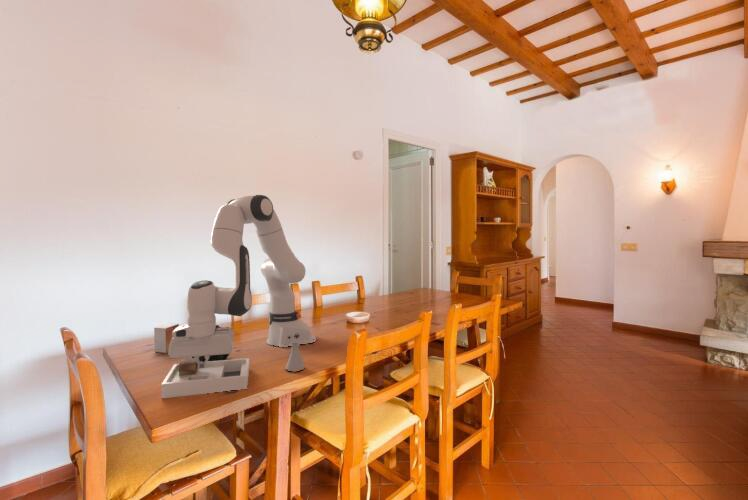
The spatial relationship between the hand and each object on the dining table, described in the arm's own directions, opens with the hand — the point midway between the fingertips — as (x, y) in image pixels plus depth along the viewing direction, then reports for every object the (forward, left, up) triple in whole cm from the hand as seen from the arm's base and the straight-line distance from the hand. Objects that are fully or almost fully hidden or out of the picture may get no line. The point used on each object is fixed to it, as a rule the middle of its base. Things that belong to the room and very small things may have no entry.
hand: (202, 367), depth 126 cm
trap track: (-3, +3, -4) cm, 6 cm away
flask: (-32, -2, -4) cm, 32 cm away
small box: (+19, -37, -4) cm, 42 cm away
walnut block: (+4, 0, -1) cm, 4 cm away
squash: (-1, -17, -4) cm, 17 cm away
